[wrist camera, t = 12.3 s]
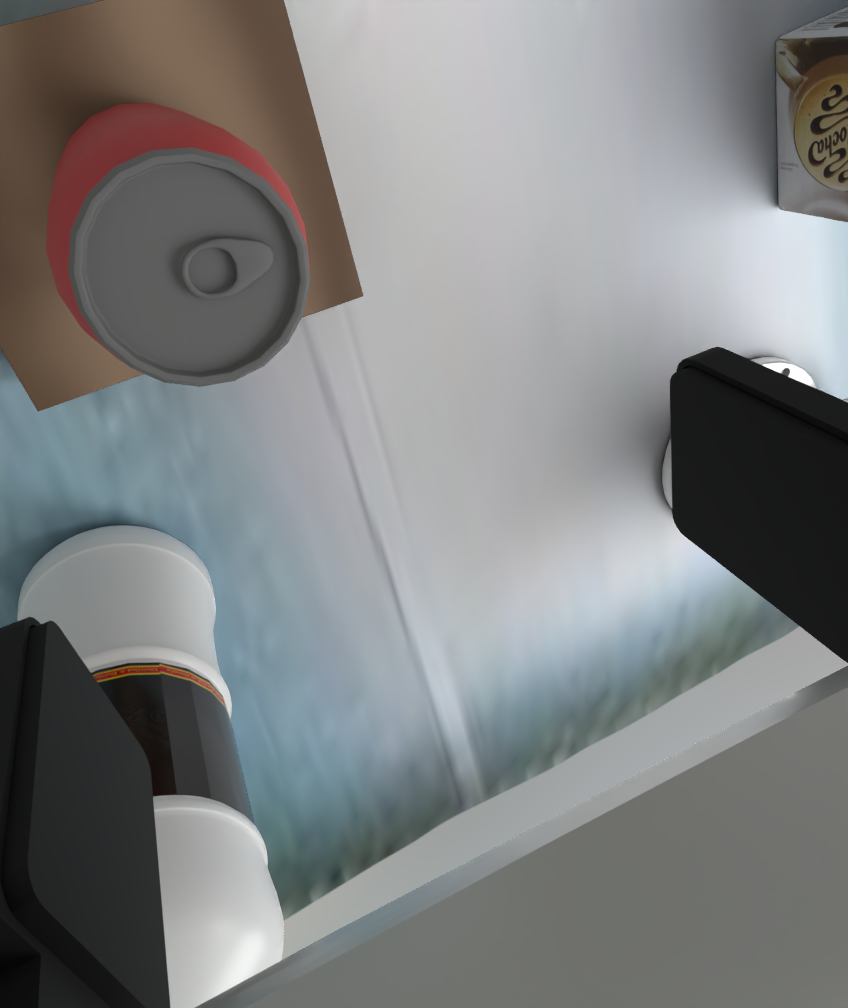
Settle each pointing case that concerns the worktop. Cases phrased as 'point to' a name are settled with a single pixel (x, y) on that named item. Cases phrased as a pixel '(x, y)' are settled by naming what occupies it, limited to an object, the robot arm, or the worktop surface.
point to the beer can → (176, 245)
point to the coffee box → (813, 118)
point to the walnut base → (160, 80)
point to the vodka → (171, 741)
